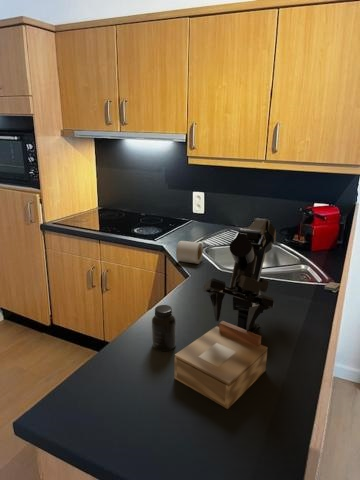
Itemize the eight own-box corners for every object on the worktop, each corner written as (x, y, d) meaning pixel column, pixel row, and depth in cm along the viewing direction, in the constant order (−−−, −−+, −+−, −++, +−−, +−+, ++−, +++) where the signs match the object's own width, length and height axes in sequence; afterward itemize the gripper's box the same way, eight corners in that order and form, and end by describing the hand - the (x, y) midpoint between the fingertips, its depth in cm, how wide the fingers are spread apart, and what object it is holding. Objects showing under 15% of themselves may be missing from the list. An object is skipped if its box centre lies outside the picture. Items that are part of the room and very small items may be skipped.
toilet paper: (202, 259, 175) (203, 240, 172) (195, 266, 166) (196, 246, 163) (183, 257, 178) (183, 238, 175) (176, 263, 169) (176, 243, 166)
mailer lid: (216, 328, 101) (216, 318, 100) (267, 349, 91) (268, 338, 90) (174, 356, 88) (174, 345, 87) (229, 385, 78) (229, 373, 77)
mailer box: (215, 347, 103) (216, 329, 101) (265, 370, 93) (267, 350, 91) (174, 378, 90) (174, 357, 88) (227, 409, 80) (228, 386, 78)
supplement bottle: (163, 336, 109) (162, 300, 105) (180, 344, 104) (180, 307, 101) (147, 346, 103) (146, 309, 100) (164, 355, 99) (164, 316, 96)
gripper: (224, 252, 89) (211, 313, 83) (289, 275, 92) (280, 335, 87) (208, 262, 99) (195, 317, 94) (267, 282, 103) (258, 336, 97)
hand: (232, 326), depth 93 cm, fingers open, 9 cm apart
